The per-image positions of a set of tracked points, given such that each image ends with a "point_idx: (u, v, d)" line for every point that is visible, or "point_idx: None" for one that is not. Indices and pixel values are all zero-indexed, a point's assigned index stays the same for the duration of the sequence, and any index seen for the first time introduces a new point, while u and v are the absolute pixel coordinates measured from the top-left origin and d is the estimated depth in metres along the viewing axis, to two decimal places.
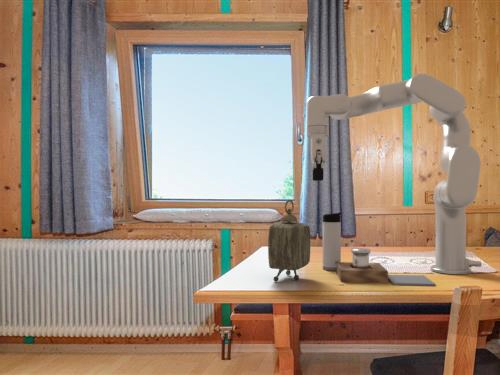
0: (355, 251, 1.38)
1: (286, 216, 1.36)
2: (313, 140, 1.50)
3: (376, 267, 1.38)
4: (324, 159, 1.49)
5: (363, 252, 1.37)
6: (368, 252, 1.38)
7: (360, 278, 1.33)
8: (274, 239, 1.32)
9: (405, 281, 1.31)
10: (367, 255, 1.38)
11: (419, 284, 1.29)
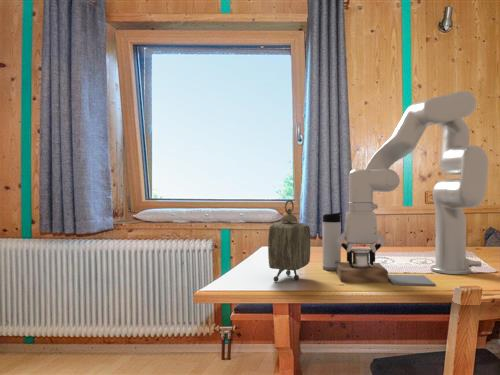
0: (355, 251, 1.38)
1: (286, 216, 1.36)
2: (375, 219, 1.38)
3: (376, 267, 1.38)
4: None
5: (363, 252, 1.37)
6: (368, 252, 1.38)
7: (360, 278, 1.33)
8: (274, 239, 1.32)
9: (405, 281, 1.31)
10: (367, 255, 1.38)
11: (419, 284, 1.29)
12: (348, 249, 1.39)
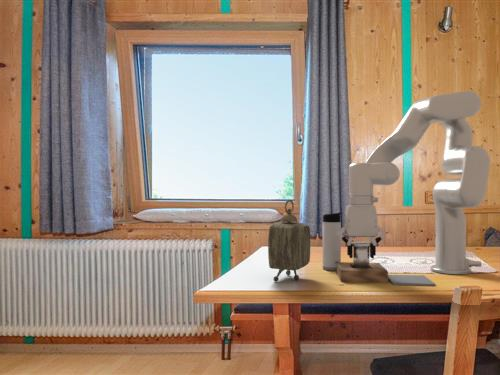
0: (355, 244, 1.38)
1: (286, 216, 1.36)
2: (376, 212, 1.38)
3: (376, 267, 1.38)
4: None
5: (363, 245, 1.37)
6: (368, 245, 1.38)
7: (360, 278, 1.33)
8: (274, 239, 1.32)
9: (405, 281, 1.31)
10: (367, 248, 1.38)
11: (419, 284, 1.29)
12: (348, 242, 1.39)
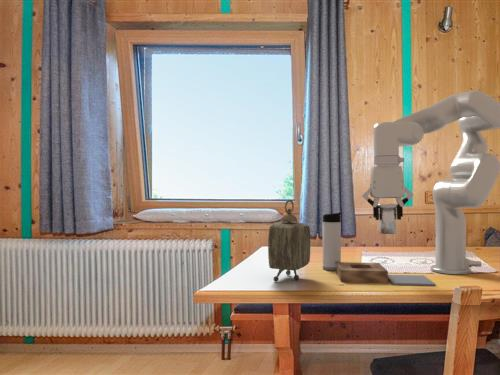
0: (382, 206, 1.35)
1: (286, 216, 1.36)
2: (402, 172, 1.35)
3: (376, 267, 1.38)
4: None
5: (390, 206, 1.34)
6: (395, 206, 1.35)
7: (360, 278, 1.33)
8: (274, 239, 1.32)
9: (405, 281, 1.31)
10: (394, 209, 1.36)
11: (419, 284, 1.29)
12: (374, 204, 1.37)
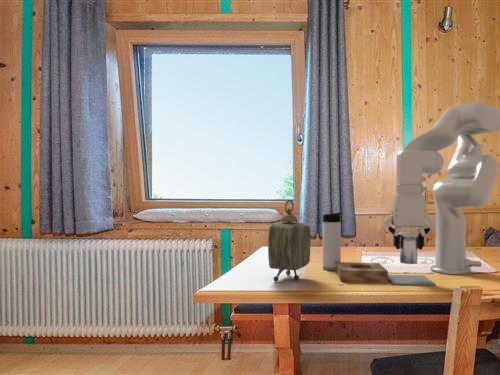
0: (403, 235, 1.33)
1: (286, 216, 1.36)
2: (425, 201, 1.32)
3: (376, 267, 1.38)
4: None
5: (412, 236, 1.32)
6: (417, 236, 1.32)
7: (360, 278, 1.33)
8: (274, 239, 1.32)
9: (405, 281, 1.31)
10: (416, 239, 1.33)
11: (419, 284, 1.29)
12: (396, 233, 1.34)
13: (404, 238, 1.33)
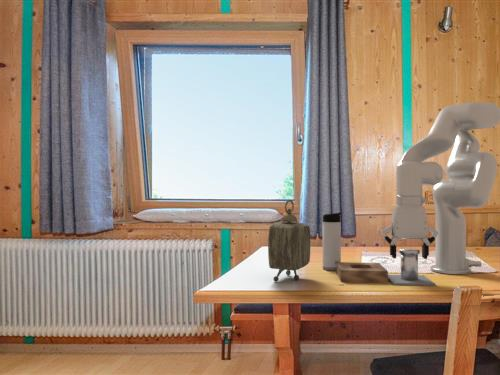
0: (404, 251, 1.33)
1: (286, 216, 1.36)
2: (425, 213, 1.33)
3: (376, 267, 1.38)
4: None
5: (413, 252, 1.32)
6: (418, 252, 1.32)
7: (360, 278, 1.33)
8: (274, 239, 1.32)
9: (405, 281, 1.31)
10: (416, 256, 1.33)
11: (419, 284, 1.29)
12: (392, 242, 1.34)
13: (405, 255, 1.33)
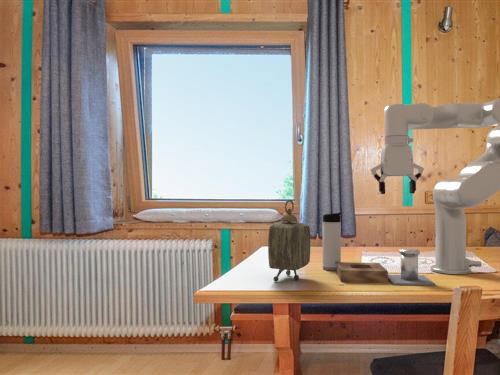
0: (404, 252, 1.33)
1: (286, 216, 1.36)
2: (411, 151, 1.43)
3: (376, 267, 1.38)
4: None
5: (413, 253, 1.32)
6: (418, 253, 1.32)
7: (360, 278, 1.33)
8: (274, 239, 1.32)
9: (405, 281, 1.31)
10: (416, 256, 1.33)
11: (419, 284, 1.29)
12: (381, 179, 1.44)
13: (405, 255, 1.33)
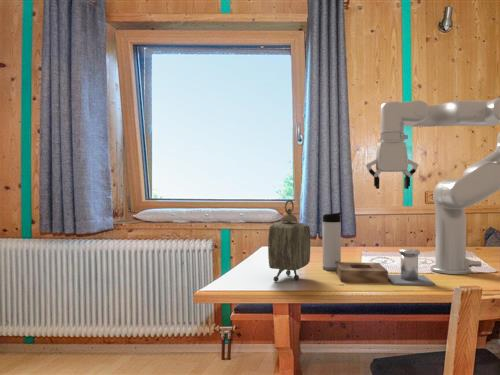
0: (404, 252, 1.33)
1: (286, 216, 1.36)
2: (406, 148, 1.48)
3: (376, 267, 1.38)
4: None
5: (413, 253, 1.32)
6: (418, 253, 1.32)
7: (360, 278, 1.33)
8: (274, 239, 1.32)
9: (405, 281, 1.31)
10: (416, 256, 1.33)
11: (419, 284, 1.29)
12: (376, 174, 1.49)
13: (405, 255, 1.33)
